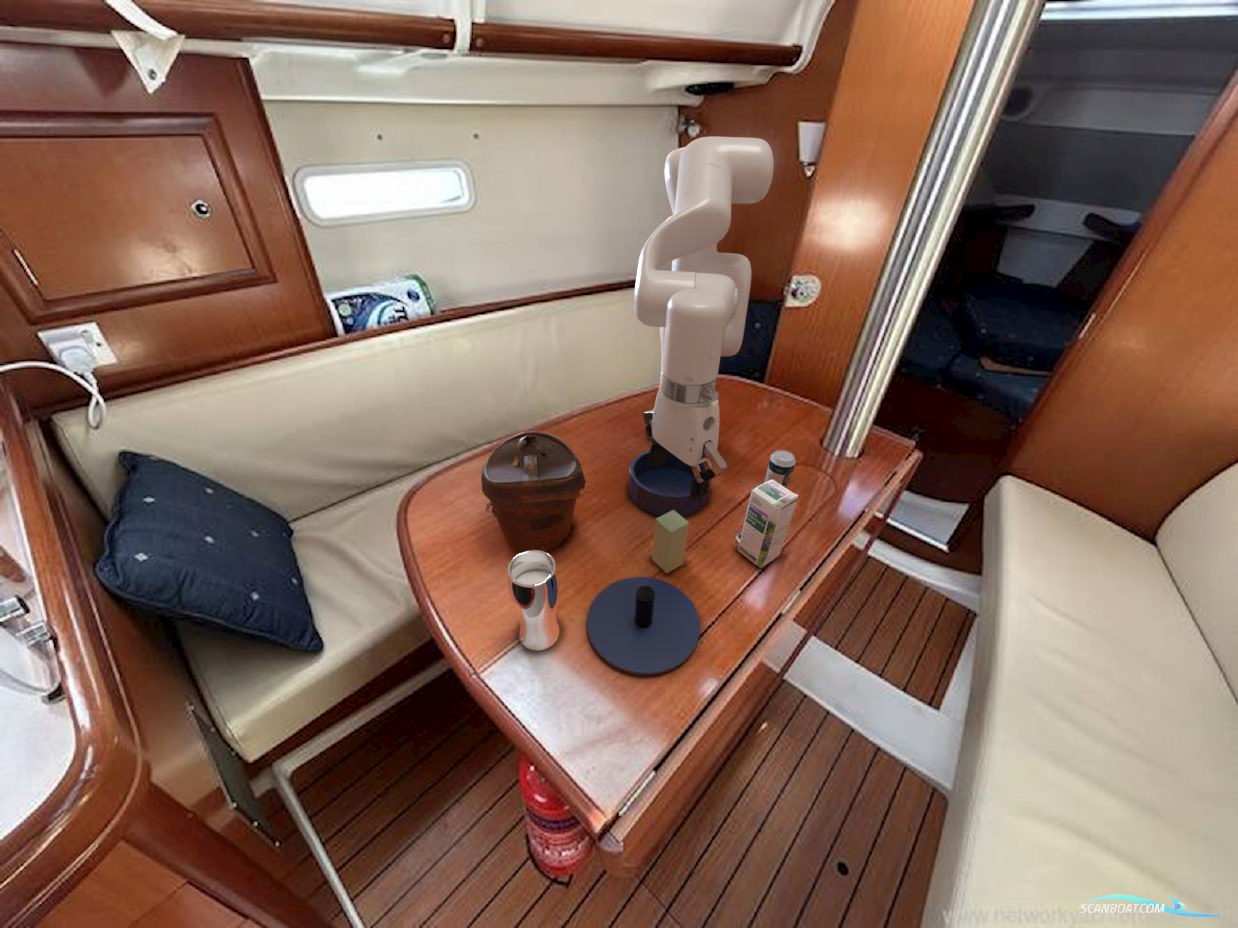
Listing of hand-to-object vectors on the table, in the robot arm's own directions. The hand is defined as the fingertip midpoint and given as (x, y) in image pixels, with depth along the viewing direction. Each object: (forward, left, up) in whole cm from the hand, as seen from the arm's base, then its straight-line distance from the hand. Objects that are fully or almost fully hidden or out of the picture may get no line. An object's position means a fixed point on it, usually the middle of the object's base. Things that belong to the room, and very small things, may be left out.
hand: (677, 480), depth 80 cm
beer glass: (0, -26, -18) cm, 32 cm away
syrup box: (+8, +15, -18) cm, 25 cm away
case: (-21, -15, -18) cm, 32 cm away
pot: (-15, +13, -18) cm, 27 cm away
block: (0, 0, -18) cm, 18 cm away
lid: (+8, -12, -18) cm, 23 cm away
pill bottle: (0, +28, -18) cm, 33 cm away
